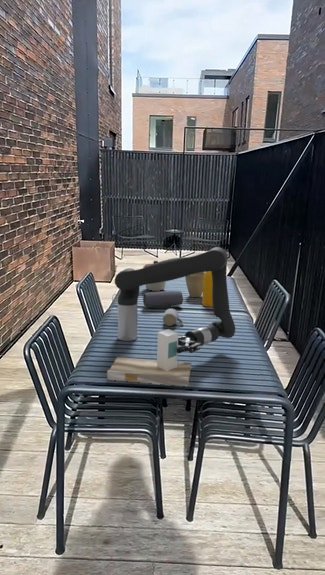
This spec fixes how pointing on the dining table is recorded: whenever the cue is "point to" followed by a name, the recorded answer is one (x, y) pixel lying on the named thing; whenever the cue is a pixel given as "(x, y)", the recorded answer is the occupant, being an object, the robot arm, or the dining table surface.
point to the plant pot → (195, 284)
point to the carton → (167, 349)
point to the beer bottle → (207, 289)
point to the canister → (155, 286)
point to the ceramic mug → (171, 318)
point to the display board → (148, 372)
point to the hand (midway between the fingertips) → (169, 347)
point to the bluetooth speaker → (162, 299)
